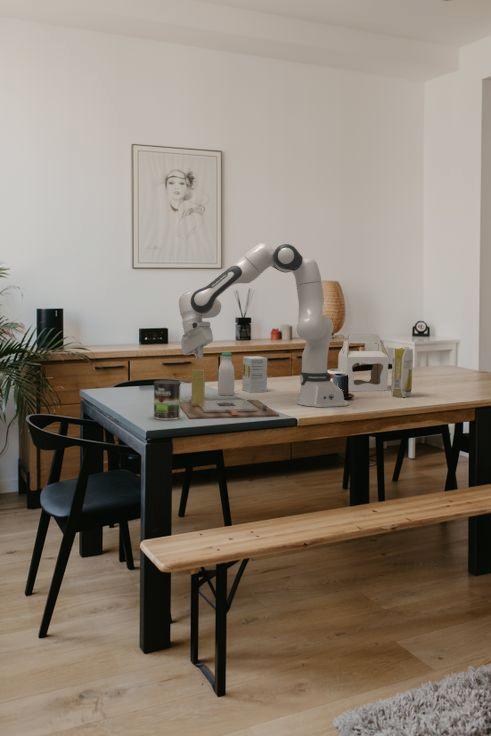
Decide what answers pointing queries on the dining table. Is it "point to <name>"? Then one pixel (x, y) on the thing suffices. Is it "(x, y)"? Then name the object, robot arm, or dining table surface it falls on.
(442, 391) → the dining table surface
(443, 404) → the dining table surface
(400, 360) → the juice carton
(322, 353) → the robot arm
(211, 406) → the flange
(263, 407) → the base board
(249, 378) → the supplement box
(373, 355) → the gable box
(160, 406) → the coffee can
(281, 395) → the dining table surface
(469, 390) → the dining table surface
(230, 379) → the milk bottle
